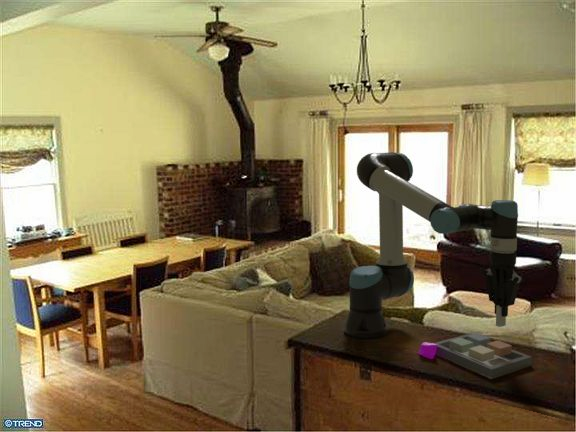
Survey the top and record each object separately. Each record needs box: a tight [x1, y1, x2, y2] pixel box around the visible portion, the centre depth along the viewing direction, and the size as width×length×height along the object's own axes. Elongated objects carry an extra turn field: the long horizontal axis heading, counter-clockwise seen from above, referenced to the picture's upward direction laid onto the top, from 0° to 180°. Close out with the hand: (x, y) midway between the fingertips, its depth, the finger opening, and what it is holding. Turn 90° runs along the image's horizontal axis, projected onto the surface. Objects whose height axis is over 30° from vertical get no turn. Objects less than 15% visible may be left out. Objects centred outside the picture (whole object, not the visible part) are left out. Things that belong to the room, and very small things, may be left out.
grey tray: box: [432, 333, 533, 380], centre depth 172 cm, size 24×18×3 cm
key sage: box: [449, 338, 474, 353], centre depth 173 cm, size 5×5×2 cm
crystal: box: [418, 341, 437, 360], centre depth 174 cm, size 5×5×5 cm
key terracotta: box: [487, 340, 513, 357], centre depth 170 cm, size 5×5×2 cm
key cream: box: [469, 345, 494, 362], centre depth 166 cm, size 5×5×2 cm
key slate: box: [467, 332, 492, 347], centre depth 177 cm, size 5×5×2 cm
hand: (500, 325), depth 169 cm, fingers closed
